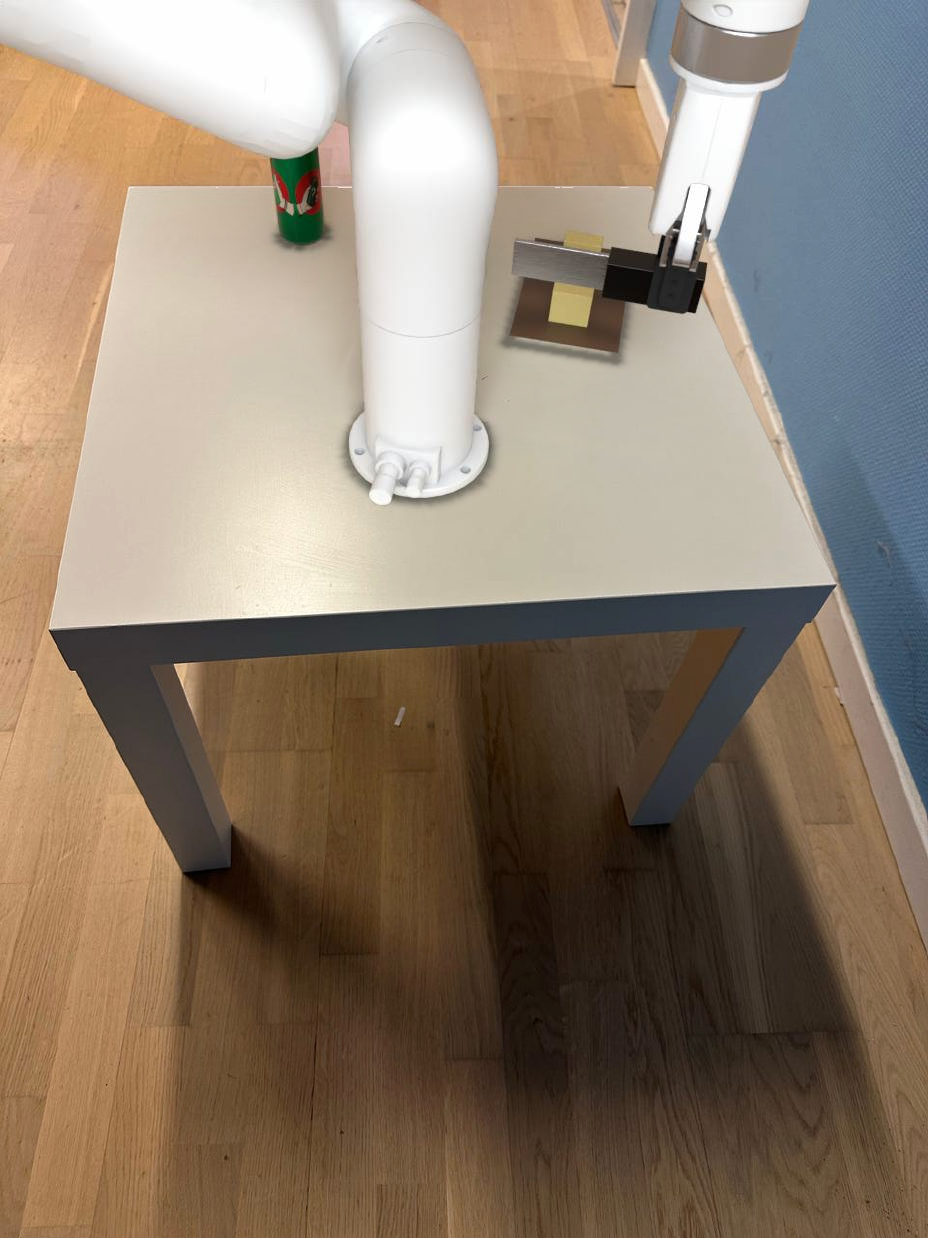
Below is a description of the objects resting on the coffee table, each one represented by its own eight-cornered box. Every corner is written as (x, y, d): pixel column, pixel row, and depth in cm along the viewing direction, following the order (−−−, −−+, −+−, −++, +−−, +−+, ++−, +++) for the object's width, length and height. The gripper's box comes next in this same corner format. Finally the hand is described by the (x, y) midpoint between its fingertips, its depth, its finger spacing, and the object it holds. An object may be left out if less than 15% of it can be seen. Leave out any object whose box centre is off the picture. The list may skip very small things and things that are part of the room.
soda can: (329, 224, 101) (320, 114, 91) (320, 249, 98) (310, 139, 89) (285, 220, 101) (271, 109, 92) (275, 245, 98) (260, 134, 89)
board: (616, 361, 90) (618, 352, 89) (508, 343, 91) (509, 335, 90) (630, 260, 100) (632, 252, 99) (533, 245, 101) (534, 237, 100)
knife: (508, 281, 72) (511, 247, 69) (514, 264, 73) (517, 230, 71) (695, 313, 70) (705, 279, 68) (698, 296, 72) (707, 262, 69)
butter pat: (596, 276, 96) (601, 246, 94) (559, 270, 97) (564, 240, 94) (597, 265, 98) (603, 236, 95) (561, 260, 98) (566, 230, 95)
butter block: (586, 327, 91) (592, 297, 88) (548, 321, 91) (552, 291, 89) (594, 285, 95) (600, 255, 93) (557, 279, 96) (562, 249, 93)
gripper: (685, -17, 61) (633, 234, 76) (660, 90, 52) (607, 351, 67) (796, -2, 60) (722, 249, 75) (791, 109, 51) (708, 369, 66)
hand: (668, 295), depth 71 cm, fingers closed on knife, 2 cm apart
